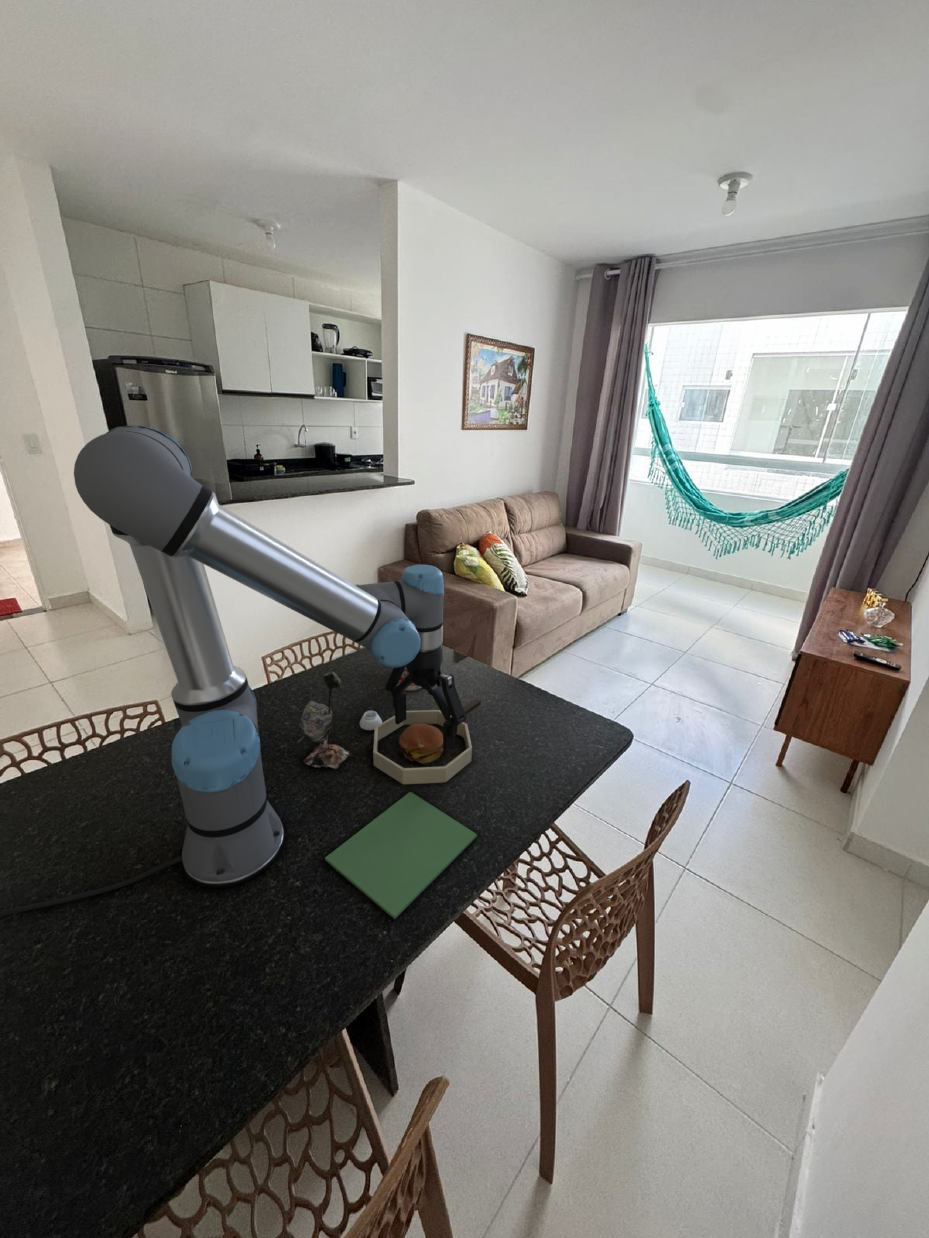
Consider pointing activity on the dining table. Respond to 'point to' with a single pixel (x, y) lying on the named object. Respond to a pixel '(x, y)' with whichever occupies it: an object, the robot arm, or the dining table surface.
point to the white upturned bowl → (370, 720)
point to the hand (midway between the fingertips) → (423, 733)
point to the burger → (421, 743)
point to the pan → (425, 772)
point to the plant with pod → (322, 730)
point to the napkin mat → (401, 852)
